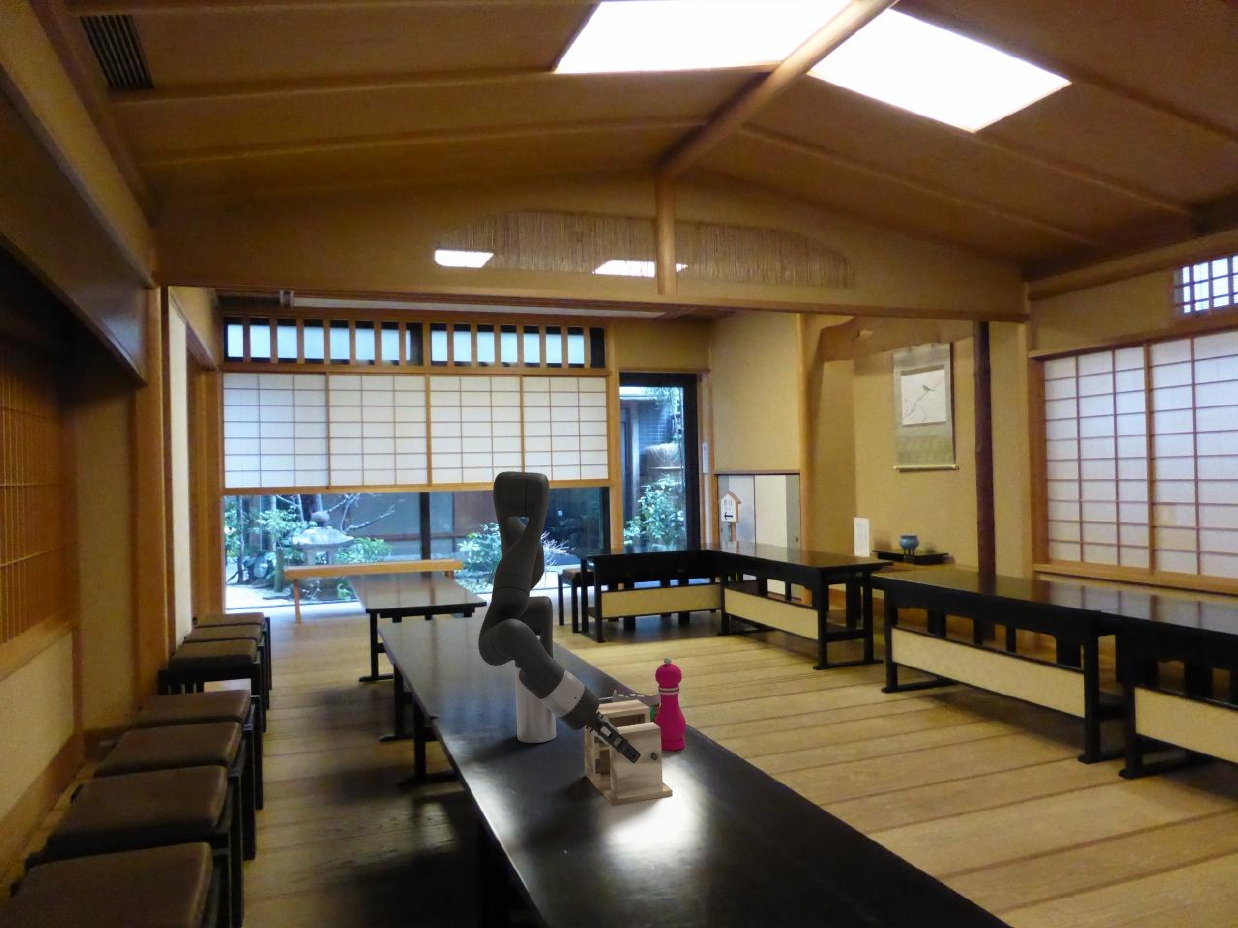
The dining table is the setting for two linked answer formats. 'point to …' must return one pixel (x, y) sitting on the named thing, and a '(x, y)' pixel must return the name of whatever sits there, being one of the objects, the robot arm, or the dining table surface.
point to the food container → (649, 701)
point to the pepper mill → (670, 707)
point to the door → (637, 762)
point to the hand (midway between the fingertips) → (629, 752)
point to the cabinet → (600, 752)
